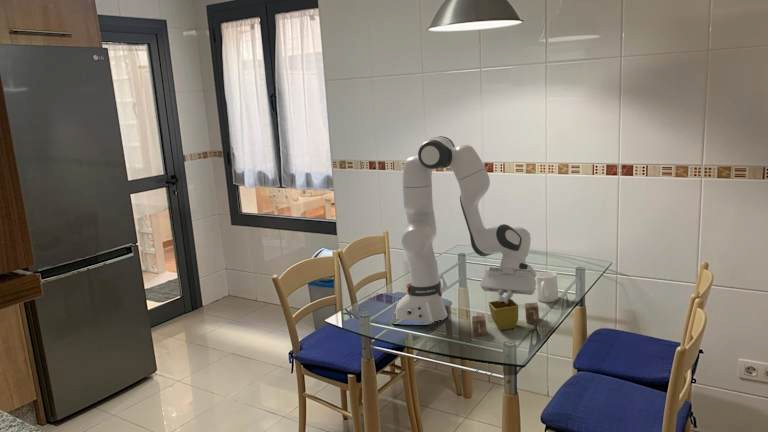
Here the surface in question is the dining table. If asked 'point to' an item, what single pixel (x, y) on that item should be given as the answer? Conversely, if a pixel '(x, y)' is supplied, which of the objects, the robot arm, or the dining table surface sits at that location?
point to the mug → (546, 286)
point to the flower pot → (504, 314)
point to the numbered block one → (479, 326)
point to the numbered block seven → (532, 312)
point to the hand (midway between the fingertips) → (502, 302)
